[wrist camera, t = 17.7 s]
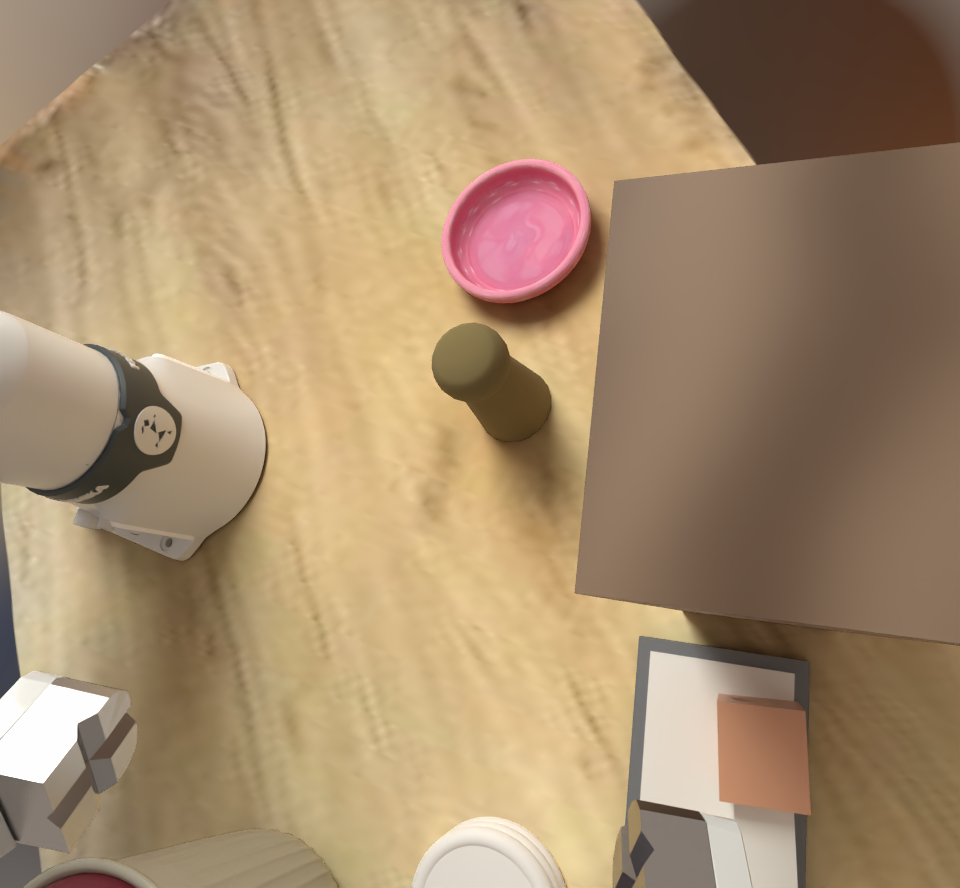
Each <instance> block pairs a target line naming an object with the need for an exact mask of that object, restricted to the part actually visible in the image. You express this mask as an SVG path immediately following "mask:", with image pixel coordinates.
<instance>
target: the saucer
mask: <svg viewBox="0 0 960 888" xmlns="http://www.w3.org/2000/svg"><path fill="white" fill-rule="evenodd" d="M590 231H591V210H590V205H589V201H588V198H587V195H586V193H585V190H584V189H583V187H582V185H581V184H580V182H579V181H578V179H577V178H576V177H575V176H574V175H573V174H572V173H571V172H569V171H568V170H567V169H565V168H564V167H562V166H560V165H558V164H555V163H553V162H550V161H546V160H539V159H522V160H516V161H511V162H508V163H505V164H502V165H499V166H497V167H495V168H493V169H491V170H489V171H487V172H485V173H484V174H482V175H481V176H479V177H478V178H477V179H475V180H474V181H473V182H472V183H471V184H469V185H468V186H467V187H466V189H465V190H464V191H463V192H462V193H461V194H460V195H459V197H458V198H457V200H456V201H455V203H454V204H453V206H452V208H451V209H450V212H449V214H448V216H447V218H446V221H445V224H444V228H443V233H442V254H443V258H444V262H445V265H446V267H447V269H448V271H449V273H450V275H451V276H452V278H453V279H454V280H455V281H456V282H457V284H458V285H459V286H460V287H461V288H462V289H464V290H465V291H466V292H468V293H469V294H471V295H472V296H474V297H476V298H479V299H481V300H485V301H488V302H494V303H514V302H520V301H524V300H528V299H531V298H534V297H536V296H539V295H541V294H543V293H545V292H546V291H548V290H550V289H551V288H553V287H554V286H556V285H557V284H558V283H560V282H561V281H562V280H563V279H564V278H565V277H566V276H567V275H568V274H569V273H570V272H571V271H572V270H573V268H574V267H575V266H576V265H577V263H578V261H579V260H580V258H581V257H582V254H583V252H584V250H585V248H586V246H587V243H588V239H589V236H590Z"/></svg>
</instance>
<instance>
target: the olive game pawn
mask: <svg viewBox="0 0 960 888" xmlns="http://www.w3.org/2000/svg"><path fill="white" fill-rule="evenodd" d="M432 370H433V374H434V378H435V380H436V382H437V383H438V385H439V386H440V388H441V389H442V390H443V391H444V392H445V393H447V394H448V395H450V396H451V397H452V398H454V399H457V400H460V401H464V402H466V403H467V405H468V406H469V408H470V409H471V410H472V412H473V413H474V415H475V416H476V417H477V419H478V420H479V421H480V423H481V424H482V426H483V427H484V428H485V430H486V431H487V432H488V433H489V434H490V435H492V436H493V437H494V438H496V439H499V440H502V441H506V442H514V441H521V440H523V439H526V438H529V437H531V436H532V435H533V434H535V433H536V432H537V431H538V430H540V428H541V427H542V426H543V424H544V423H545V422H546V420H547V418H548V415H549V412H550V409H551V395H550V391H549V388H548V386H547V384H546V383H545V382H544V380H543V379H542V378H541V377H540V376H539V375H537V374H536V373H534V372H533V371H531V370H530V369H528V368H527V367H526V366H524V365H523V364H521V363H520V362H518V361H517V360H515V359H514V358H512V357H511V356H510V355H509V351H508V348H507V345H506V343H505V342H504V341H503V339H502V338H501V337H500V335H499V334H498V333H497V332H496V331H494V330H493V329H491V328H490V327H488V326H486V325H482V324H478V323H467V324H461V325H459V326H457V327H454V328H452V329H450V330H449V331H448V332H447V333H445V334H444V335H443V336H442V338H441V339H440V340H439V342H438V343H437V345H436V347H435V350H434V353H433V356H432Z"/></svg>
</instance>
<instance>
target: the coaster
mask: <svg viewBox="0 0 960 888" xmlns="http://www.w3.org/2000/svg"><path fill="white" fill-rule="evenodd" d="M411 888H566V886H565V883H564V880H563V877H562V874H561V872H560V869H559V867H558V865H557V863H556V861H555V860H554V858H553V856H552V855H551V853H550V852H549V850H548V849H547V848H546V846H545V845H544V844H543V843H542V842H541V841H540V840H539V839H538V838H537V837H536V836H535V835H534V834H533V833H532V832H530V831H529V830H528V829H526V828H524V827H523V826H521V825H519V824H517V823H515V822H513V821H510V820H507V819H504V818H498V817H478V818H473V819H470V820H467V821H464V822H462V823H460V824H459V825H457V826H455V827H454V828H453V829H452V830H450V831H449V832H447V833H446V834H445V835H444V836H442V837H441V838H439V839H438V840H437V841H436V842H434V844H433V845H432V846H431V847H430V848H429V849H428V850H427V852H426V853H425V855H424V856H423V857H422V859H421V861H420V863H419V865H418V867H417V870H416V873H415V875H414V878H413V882H412V886H411Z"/></svg>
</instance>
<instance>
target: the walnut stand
mask: <svg viewBox="0 0 960 888" xmlns="http://www.w3.org/2000/svg"><path fill="white" fill-rule="evenodd" d="M575 593H576V594H582V595H588V596H595V597H601V598H607V599H613V600H619V601H626V602H632V603H638V604H644V605H650V606H657V607H663V608H669V609H675V610H681V611H689V612H696V613H704V614H711V615H719V616H727V617H734V618H742V619H749V620H757V621H764V622H772V623H780V624H787V625H795V626H802V627H810V628H817V629H825V630H832V631H841V632H849V633H857V634H866V635H874V636H883V637H891V638H900V639H908V640H917V641H925V642H934V643H942V644H951V645H959V646H960V143H951V144H943V145H933V146H924V147H915V148H906V149H897V150H889V151H879V152H871V153H862V154H852V155H843V156H835V157H826V158H818V159H808V160H799V161H791V162H781V163H772V164H763V165H754V166H745V167H736V168H727V169H718V170H709V171H700V172H691V173H682V174H673V175H664V176H655V177H646V178H637V179H628V180H619V181H614V189H613V199H612V210H611V220H610V231H609V241H608V252H607V262H606V272H605V283H604V293H603V304H602V314H601V324H600V335H599V345H598V356H597V366H596V377H595V387H594V397H593V408H592V418H591V429H590V439H589V449H588V460H587V470H586V481H585V491H584V502H583V512H582V522H581V533H580V543H579V554H578V564H577V574H576V585H575Z"/></svg>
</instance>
